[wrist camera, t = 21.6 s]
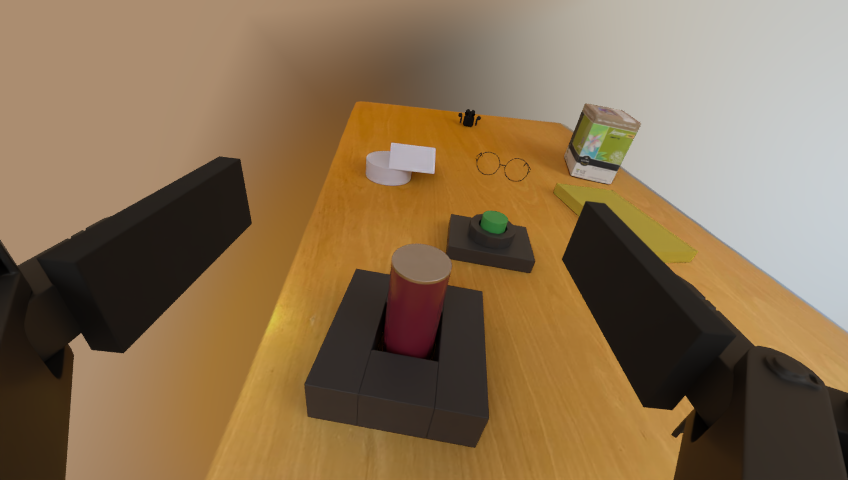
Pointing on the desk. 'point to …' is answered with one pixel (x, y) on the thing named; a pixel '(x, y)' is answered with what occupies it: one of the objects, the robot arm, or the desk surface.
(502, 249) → the panel
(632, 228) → the flat olive board
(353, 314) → the square peg hole block
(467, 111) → the wireless earbuds
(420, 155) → the wedge on round base
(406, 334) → the dark red cylinder
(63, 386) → the robot arm
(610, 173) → the tea box
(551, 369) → the desk surface
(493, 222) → the button
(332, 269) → the desk surface
